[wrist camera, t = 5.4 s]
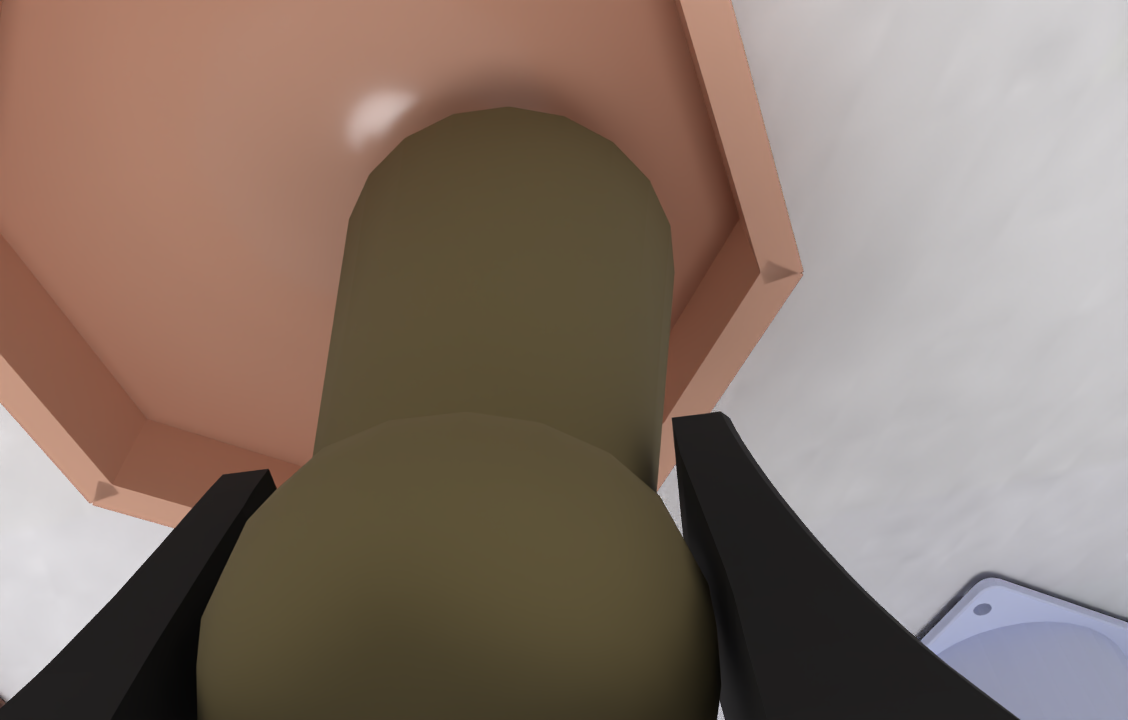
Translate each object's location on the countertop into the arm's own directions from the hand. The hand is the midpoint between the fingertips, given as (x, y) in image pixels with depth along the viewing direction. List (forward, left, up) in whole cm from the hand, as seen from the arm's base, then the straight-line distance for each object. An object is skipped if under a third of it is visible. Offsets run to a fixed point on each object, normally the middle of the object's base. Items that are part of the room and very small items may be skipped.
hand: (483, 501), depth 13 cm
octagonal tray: (-2, +2, -10) cm, 11 cm away
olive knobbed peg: (0, 0, -7) cm, 7 cm away
